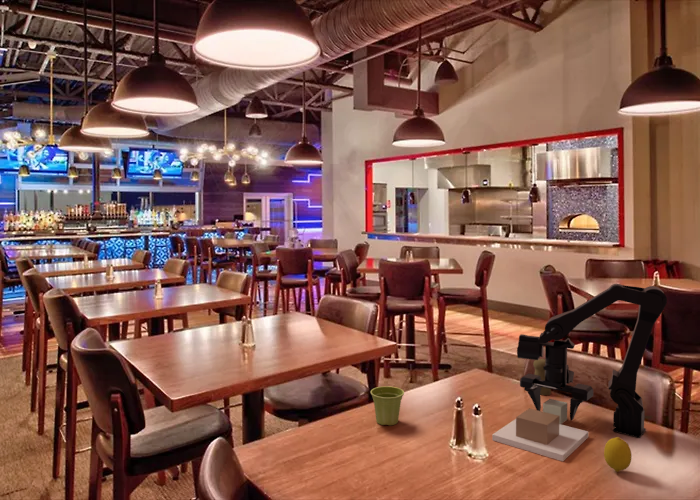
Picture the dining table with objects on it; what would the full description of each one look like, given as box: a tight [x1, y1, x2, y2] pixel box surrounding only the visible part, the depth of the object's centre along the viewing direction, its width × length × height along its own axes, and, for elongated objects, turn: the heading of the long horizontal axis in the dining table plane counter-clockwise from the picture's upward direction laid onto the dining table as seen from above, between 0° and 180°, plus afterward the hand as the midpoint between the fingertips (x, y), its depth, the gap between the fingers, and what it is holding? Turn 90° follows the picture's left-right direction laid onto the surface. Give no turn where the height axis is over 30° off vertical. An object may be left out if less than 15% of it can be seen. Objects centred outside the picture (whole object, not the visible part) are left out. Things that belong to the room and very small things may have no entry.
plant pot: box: [370, 385, 405, 426], centre depth 149 cm, size 9×9×9 cm
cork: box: [532, 358, 552, 396], centre depth 172 cm, size 6×6×11 cm
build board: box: [491, 408, 590, 462], centre depth 137 cm, size 18×18×6 cm
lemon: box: [603, 436, 632, 473], centre depth 119 cm, size 6×6×8 cm
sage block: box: [542, 398, 568, 425], centre depth 150 cm, size 5×5×5 cm
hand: (555, 416), depth 150 cm, fingers open, 9 cm apart
